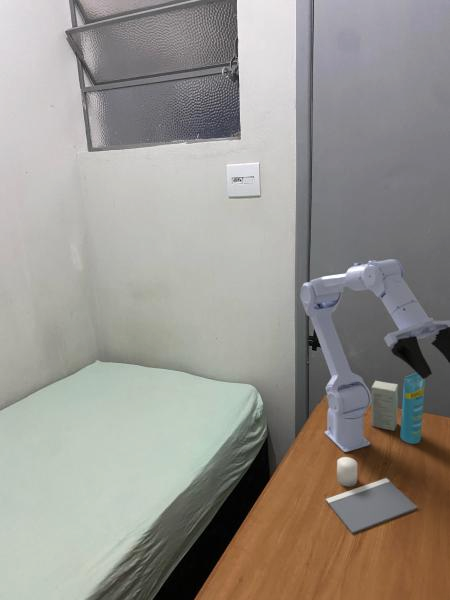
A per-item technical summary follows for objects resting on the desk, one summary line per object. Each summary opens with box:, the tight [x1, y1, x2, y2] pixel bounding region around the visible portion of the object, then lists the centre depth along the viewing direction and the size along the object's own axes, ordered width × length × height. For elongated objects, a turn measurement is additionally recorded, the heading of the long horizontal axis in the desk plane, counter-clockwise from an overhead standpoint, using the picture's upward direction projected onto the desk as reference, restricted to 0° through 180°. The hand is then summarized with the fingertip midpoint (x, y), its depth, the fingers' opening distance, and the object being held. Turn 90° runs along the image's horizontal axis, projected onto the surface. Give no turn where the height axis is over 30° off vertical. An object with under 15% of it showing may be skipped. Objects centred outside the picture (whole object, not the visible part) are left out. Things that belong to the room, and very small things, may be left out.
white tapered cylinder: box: [336, 456, 358, 487], centre depth 94 cm, size 4×4×4 cm
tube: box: [399, 372, 426, 445], centre depth 104 cm, size 7×5×19 cm, turn 123°
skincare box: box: [370, 380, 399, 432], centre depth 112 cm, size 6×4×12 cm
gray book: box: [325, 477, 418, 534], centre depth 87 cm, size 10×16×1 cm, turn 109°
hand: (444, 372), depth 74 cm, fingers open, 7 cm apart
